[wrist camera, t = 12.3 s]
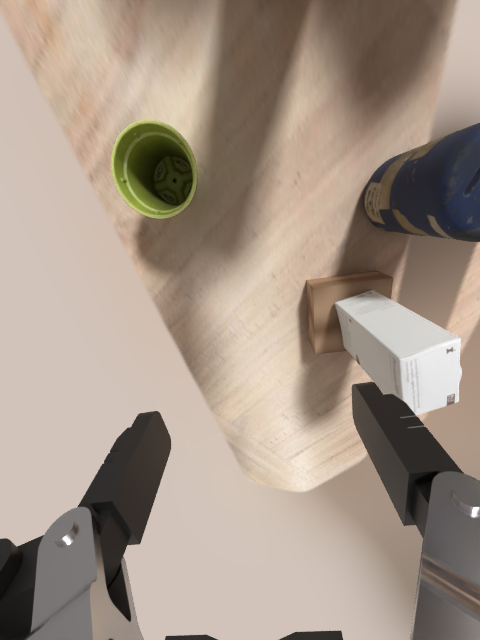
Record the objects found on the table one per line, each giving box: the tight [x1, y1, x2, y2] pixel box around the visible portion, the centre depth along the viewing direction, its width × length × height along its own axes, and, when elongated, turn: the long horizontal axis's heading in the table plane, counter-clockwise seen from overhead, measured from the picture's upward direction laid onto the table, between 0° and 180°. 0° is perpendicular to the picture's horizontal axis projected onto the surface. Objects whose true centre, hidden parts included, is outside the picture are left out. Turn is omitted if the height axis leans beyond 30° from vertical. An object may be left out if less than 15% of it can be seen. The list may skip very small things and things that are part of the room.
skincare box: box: [335, 290, 462, 415], centre depth 30 cm, size 8×6×15 cm
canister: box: [364, 123, 480, 242], centre depth 27 cm, size 10×10×18 cm
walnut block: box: [306, 271, 393, 354], centre depth 40 cm, size 11×11×5 cm
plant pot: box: [111, 120, 197, 219], centre depth 31 cm, size 9×9×9 cm
